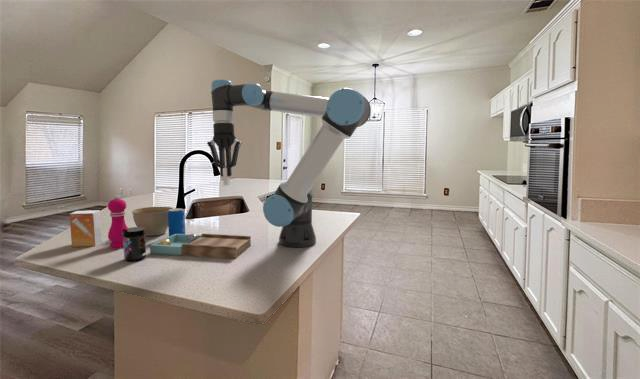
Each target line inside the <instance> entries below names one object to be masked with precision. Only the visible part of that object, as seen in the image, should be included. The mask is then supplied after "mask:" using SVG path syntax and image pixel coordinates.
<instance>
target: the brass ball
mask: <svg viewBox="0 0 640 379" xmlns="http://www.w3.org/2000/svg"><path fill="white" fill-rule="evenodd" d="M160 240H161V241H160ZM160 240H159V241H160V243H159V245H171V242H170V240H168V239H165V238H163V239H160Z"/></svg>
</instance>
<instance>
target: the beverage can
mask: <svg viewBox="0 0 640 379" xmlns="http://www.w3.org/2000/svg"><path fill="white" fill-rule="evenodd" d="M185 219H186V216H185V211H184V208H182V207H181V208H179V207H178V208H173V209H169V212H168V237H169V236H172V235H174V234H186V220H185Z"/></svg>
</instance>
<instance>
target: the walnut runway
mask: <svg viewBox="0 0 640 379" xmlns="http://www.w3.org/2000/svg"><path fill="white" fill-rule="evenodd" d="M201 235H202V237H200V238H198V239H196V240H194V241H192V242H191V243H189V244H182V256H189V257H203V258H204V257H205V258H220V259H221V258H222V259H235V260H236V259H237V258H238V257H239V256H241V255H242V254H243V253H245V251H246V250H248V249H249V248H250V247H251V246H252V244H251V243H252V242H251V241H252V240H251V235H237V234H236V235H235V234H220V233H219V234H218V233H201Z"/></svg>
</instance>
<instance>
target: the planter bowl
mask: <svg viewBox="0 0 640 379" xmlns="http://www.w3.org/2000/svg"><path fill="white" fill-rule="evenodd" d="M169 209H174V208H173V207H171V206H149V207H140V208H136V209H133V210H131V213H132V216H133V217H132V219H133V222H134V223H135V226H136V227H144V228H145V237H147V236H148V237H151V236H154V237H155V236H160V235H164V234H166V233H167V229H169V227H168V212H169Z"/></svg>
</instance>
